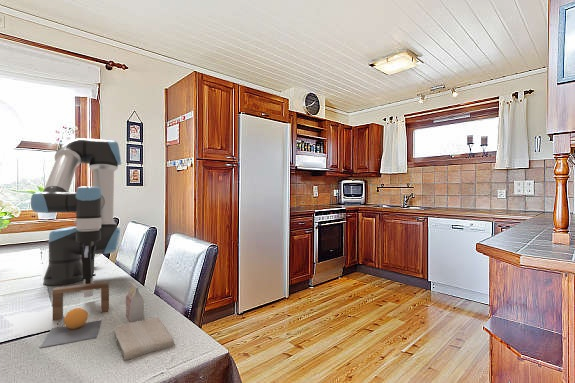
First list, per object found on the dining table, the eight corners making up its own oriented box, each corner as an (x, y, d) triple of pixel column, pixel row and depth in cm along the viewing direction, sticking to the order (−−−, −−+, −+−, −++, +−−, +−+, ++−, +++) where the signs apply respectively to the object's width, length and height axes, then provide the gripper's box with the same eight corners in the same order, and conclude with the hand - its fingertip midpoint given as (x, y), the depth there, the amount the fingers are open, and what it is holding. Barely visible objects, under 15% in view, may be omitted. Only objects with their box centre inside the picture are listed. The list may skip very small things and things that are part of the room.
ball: (62, 314, 82) (62, 334, 82) (86, 310, 84) (86, 330, 84) (66, 306, 87) (66, 325, 87) (88, 303, 89) (88, 321, 89)
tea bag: (138, 313, 96) (138, 281, 96) (143, 319, 91) (144, 287, 91) (125, 315, 94) (126, 284, 94) (130, 323, 89) (130, 289, 89)
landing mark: (52, 328, 85) (52, 328, 85) (101, 320, 90) (101, 320, 90) (39, 348, 74) (39, 347, 74) (96, 337, 80) (96, 337, 80)
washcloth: (156, 323, 90) (157, 313, 90) (176, 347, 76) (176, 335, 76) (111, 335, 82) (111, 323, 82) (123, 364, 68) (123, 351, 68)
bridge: (55, 317, 93) (55, 287, 93) (109, 309, 99) (109, 281, 99) (52, 320, 90) (52, 290, 90) (108, 312, 97) (108, 283, 97)
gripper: (79, 228, 111) (79, 292, 111) (72, 232, 99) (71, 303, 99) (103, 227, 114) (102, 289, 114) (98, 231, 102) (98, 300, 102)
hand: (88, 295), depth 106 cm, fingers closed
